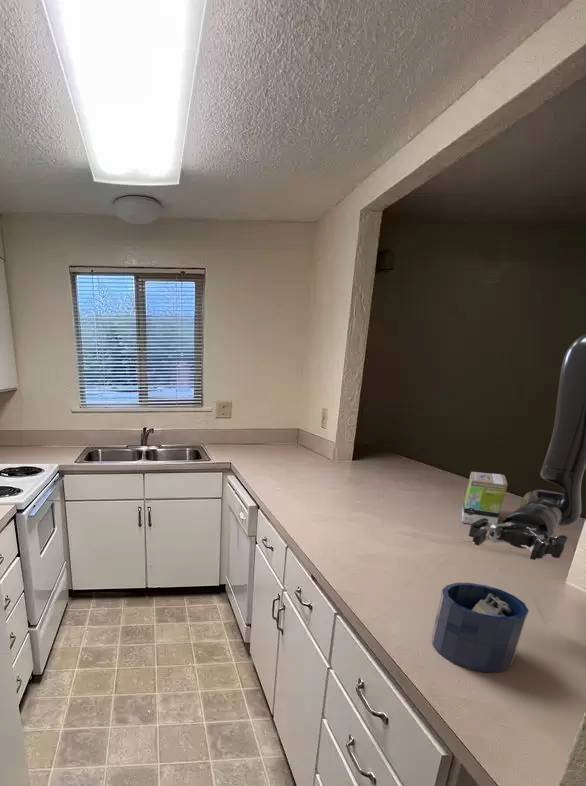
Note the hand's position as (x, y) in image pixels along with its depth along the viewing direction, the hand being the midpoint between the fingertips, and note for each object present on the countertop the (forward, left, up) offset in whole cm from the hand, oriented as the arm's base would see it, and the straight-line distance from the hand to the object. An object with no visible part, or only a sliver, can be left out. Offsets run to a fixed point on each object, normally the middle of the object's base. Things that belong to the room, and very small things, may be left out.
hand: (504, 547), depth 78 cm
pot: (+5, +1, -20) cm, 21 cm away
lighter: (+5, +1, -19) cm, 19 cm away
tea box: (-64, -48, -20) cm, 83 cm away
